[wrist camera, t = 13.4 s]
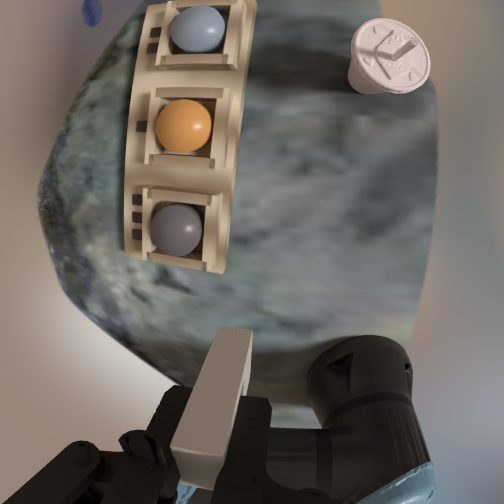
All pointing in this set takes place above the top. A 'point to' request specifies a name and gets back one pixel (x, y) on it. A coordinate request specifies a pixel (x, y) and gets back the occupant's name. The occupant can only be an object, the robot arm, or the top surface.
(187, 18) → the blue button
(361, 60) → the smoothie
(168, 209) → the charcoal button
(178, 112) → the orange button
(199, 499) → the robot arm
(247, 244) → the top surface
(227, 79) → the button panel
